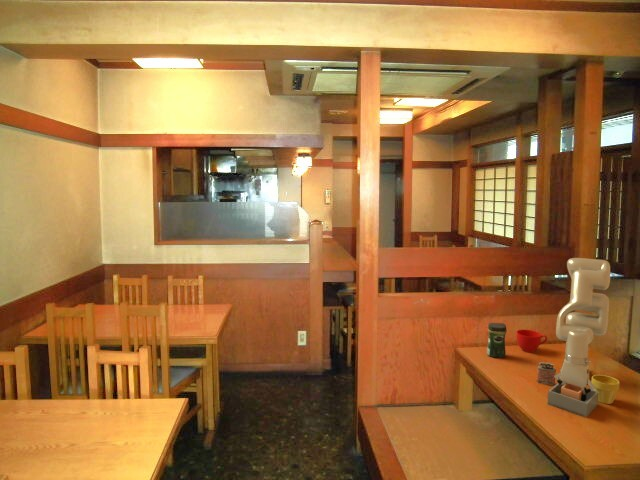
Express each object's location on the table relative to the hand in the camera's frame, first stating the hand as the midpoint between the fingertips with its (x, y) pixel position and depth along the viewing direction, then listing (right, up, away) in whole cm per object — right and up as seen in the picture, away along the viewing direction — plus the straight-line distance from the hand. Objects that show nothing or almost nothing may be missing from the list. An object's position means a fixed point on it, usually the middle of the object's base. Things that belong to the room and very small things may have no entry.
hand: (572, 398), depth 189 cm
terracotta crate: (0, -1, 0) cm, 1 cm away
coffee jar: (-11, +4, +55) cm, 56 cm away
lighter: (-1, 0, +21) cm, 21 cm away
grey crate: (0, -3, 0) cm, 3 cm away
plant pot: (+16, -3, +4) cm, 17 cm away
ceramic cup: (+12, +5, +63) cm, 64 cm away
